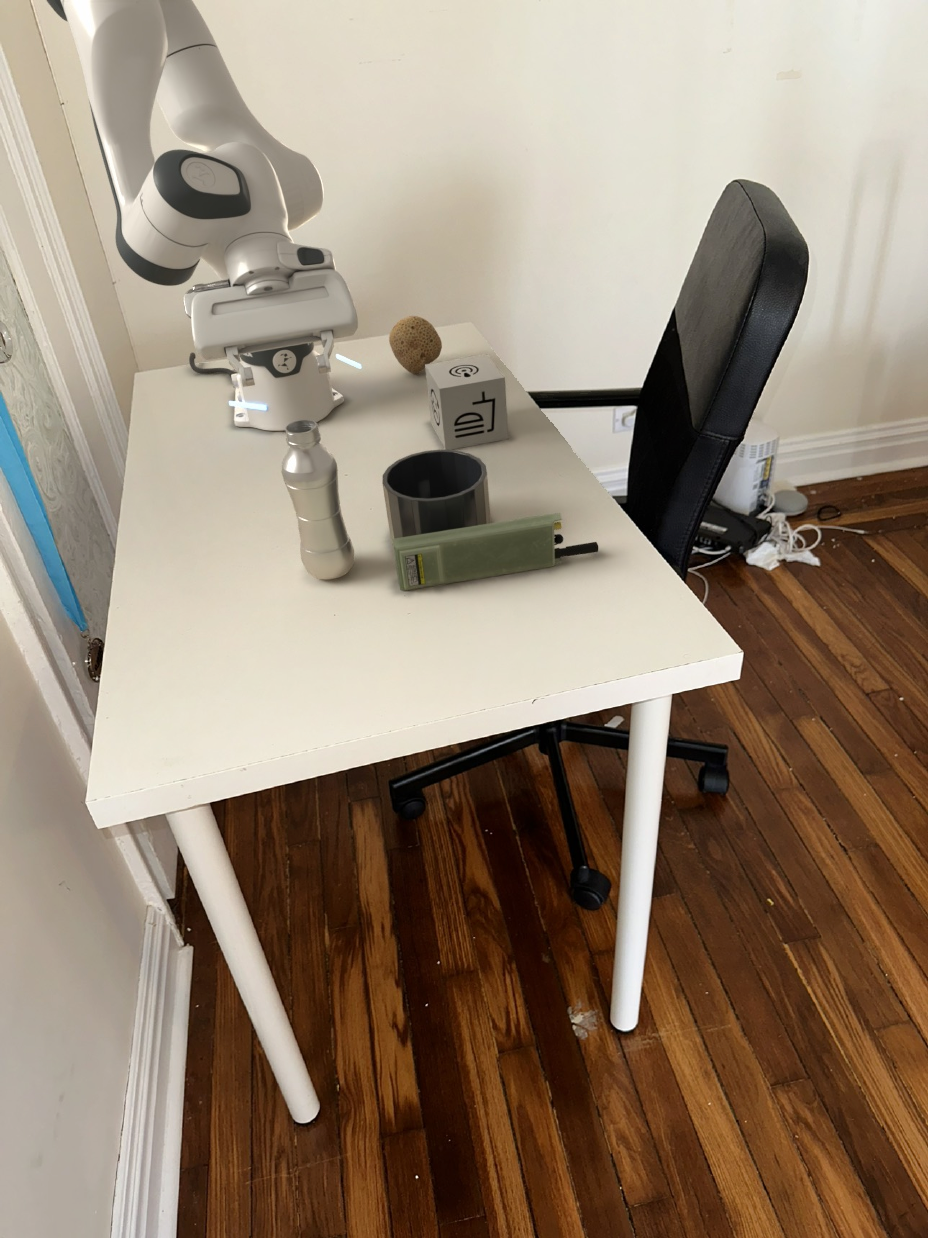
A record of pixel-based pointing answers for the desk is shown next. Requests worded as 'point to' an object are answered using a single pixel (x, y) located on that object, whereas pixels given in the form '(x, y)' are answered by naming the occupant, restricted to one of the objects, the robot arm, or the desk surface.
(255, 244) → the robot arm
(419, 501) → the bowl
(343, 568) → the metal bottle
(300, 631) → the desk surface
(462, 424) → the icon cube
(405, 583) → the handheld radio
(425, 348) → the natural sponge
